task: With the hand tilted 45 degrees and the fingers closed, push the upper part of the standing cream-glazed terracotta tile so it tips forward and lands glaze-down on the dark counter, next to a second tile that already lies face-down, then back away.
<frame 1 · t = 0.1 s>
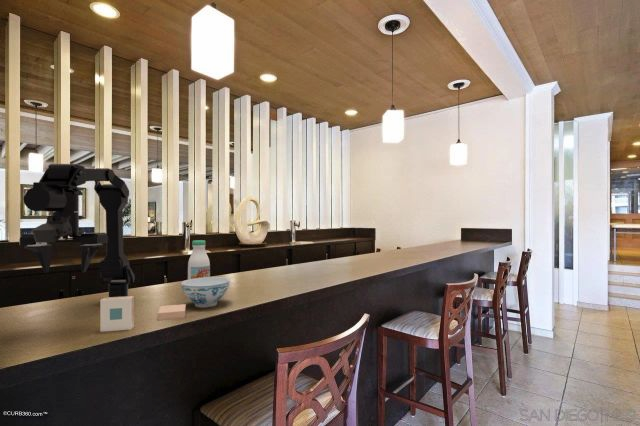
hand: (65, 272, 88), 15 cm above the countertop, tool pointing down, fingers open, 9 cm apart
chinaware: (206, 305, 111), on the countertop
finished tile: (172, 316, 100), on the countertop
tile: (117, 328, 88), on the countertop
milk bottle: (199, 295, 126), on the countertop
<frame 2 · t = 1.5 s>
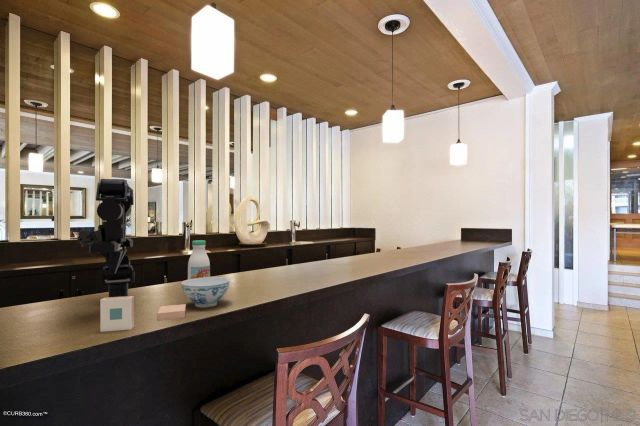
hand: (112, 273, 101), 12 cm above the countertop, tool pointing down, fingers closed
nothing on the countertop moved.
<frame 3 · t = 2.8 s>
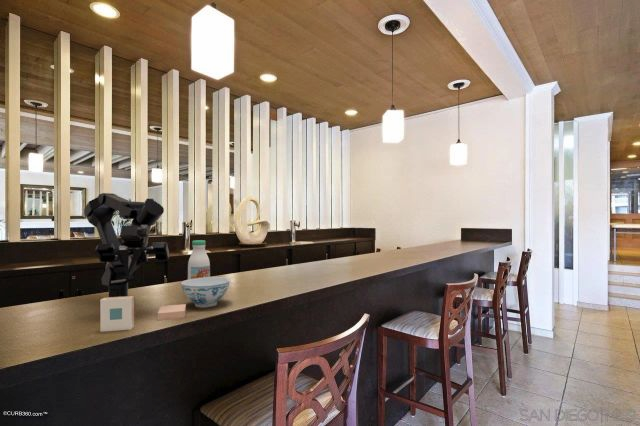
hand: (127, 275, 95), 12 cm above the countertop, tool tilted 45°, fingers closed
nothing on the countertop moved.
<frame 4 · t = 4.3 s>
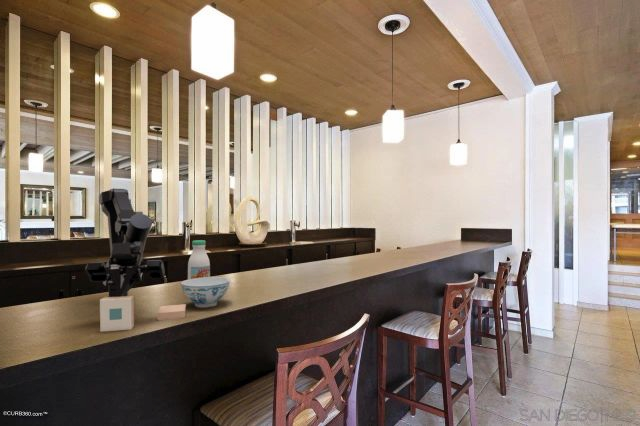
hand: (119, 297, 89), 8 cm above the countertop, tool tilted 45°, fingers closed, pressing on tile
tile: (117, 328, 88), on the countertop, touching gripper
everything else where it was.
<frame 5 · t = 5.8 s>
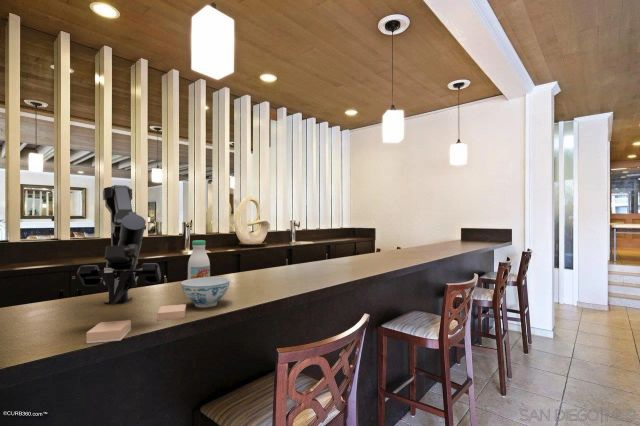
hand: (113, 302, 84), 8 cm above the countertop, tool tilted 45°, fingers closed
tile: (115, 325, 86), point 1 cm above the countertop, tilted 90°
everything else where it was.
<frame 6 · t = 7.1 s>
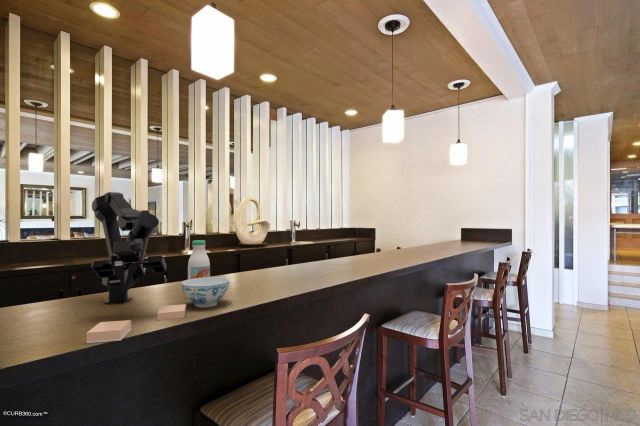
hand: (123, 292, 93), 8 cm above the countertop, tool tilted 40°, fingers closed
nothing on the countertop moved.
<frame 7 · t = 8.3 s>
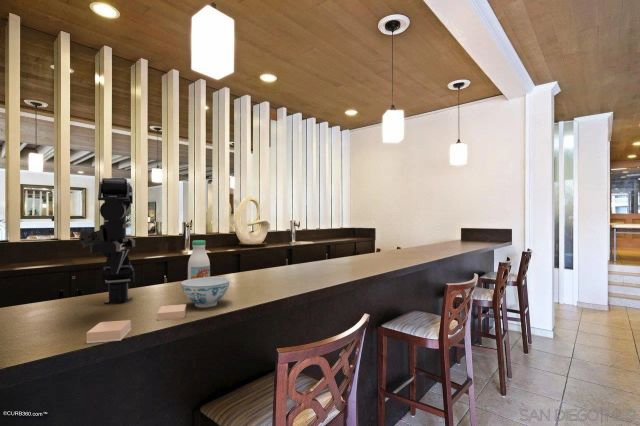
hand: (114, 274, 100), 12 cm above the countertop, tool pointing down, fingers closed
nothing on the countertop moved.
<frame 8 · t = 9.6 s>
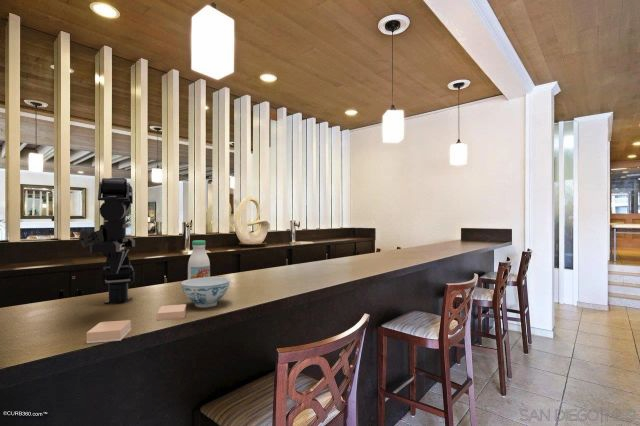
hand: (114, 274, 100), 12 cm above the countertop, tool pointing down, fingers closed
nothing on the countertop moved.
at the end: tile tilted 90°; tile inside the target area (2.7 cm from its centre), point 1.4 cm above the countertop; tile touching countertop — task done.
